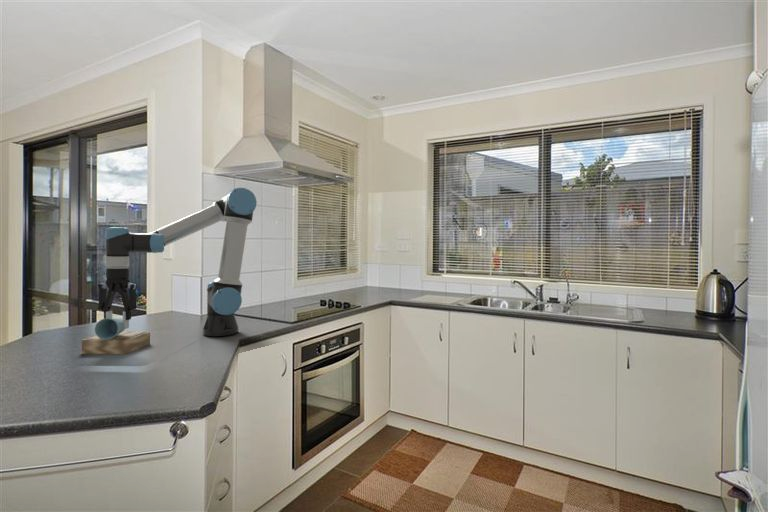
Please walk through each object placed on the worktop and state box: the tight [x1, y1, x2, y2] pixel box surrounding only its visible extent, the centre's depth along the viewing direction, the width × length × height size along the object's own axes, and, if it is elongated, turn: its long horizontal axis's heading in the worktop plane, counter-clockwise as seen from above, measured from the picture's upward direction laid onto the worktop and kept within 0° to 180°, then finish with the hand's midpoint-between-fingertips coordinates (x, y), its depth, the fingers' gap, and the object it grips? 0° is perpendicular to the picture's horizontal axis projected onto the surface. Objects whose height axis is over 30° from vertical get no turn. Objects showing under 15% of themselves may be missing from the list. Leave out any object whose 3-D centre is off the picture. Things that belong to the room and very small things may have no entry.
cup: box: [94, 317, 126, 340], centre depth 156 cm, size 8×8×10 cm
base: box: [81, 330, 151, 355], centre depth 161 cm, size 16×16×5 cm
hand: (117, 328), depth 161 cm, fingers closed on cup, 6 cm apart
